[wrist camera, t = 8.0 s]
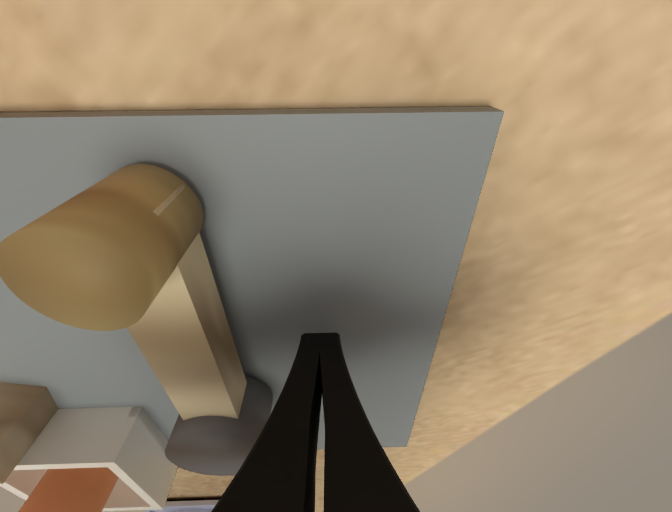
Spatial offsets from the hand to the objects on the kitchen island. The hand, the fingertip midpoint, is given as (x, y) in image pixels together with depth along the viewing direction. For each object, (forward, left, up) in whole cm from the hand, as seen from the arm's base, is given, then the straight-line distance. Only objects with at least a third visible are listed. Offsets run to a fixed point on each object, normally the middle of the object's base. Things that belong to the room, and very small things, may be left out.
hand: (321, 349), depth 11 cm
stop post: (-4, +14, -1) cm, 15 cm away
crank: (0, +5, -1) cm, 5 cm away
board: (-1, +6, -2) cm, 7 cm away
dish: (-9, +13, -1) cm, 15 cm away
